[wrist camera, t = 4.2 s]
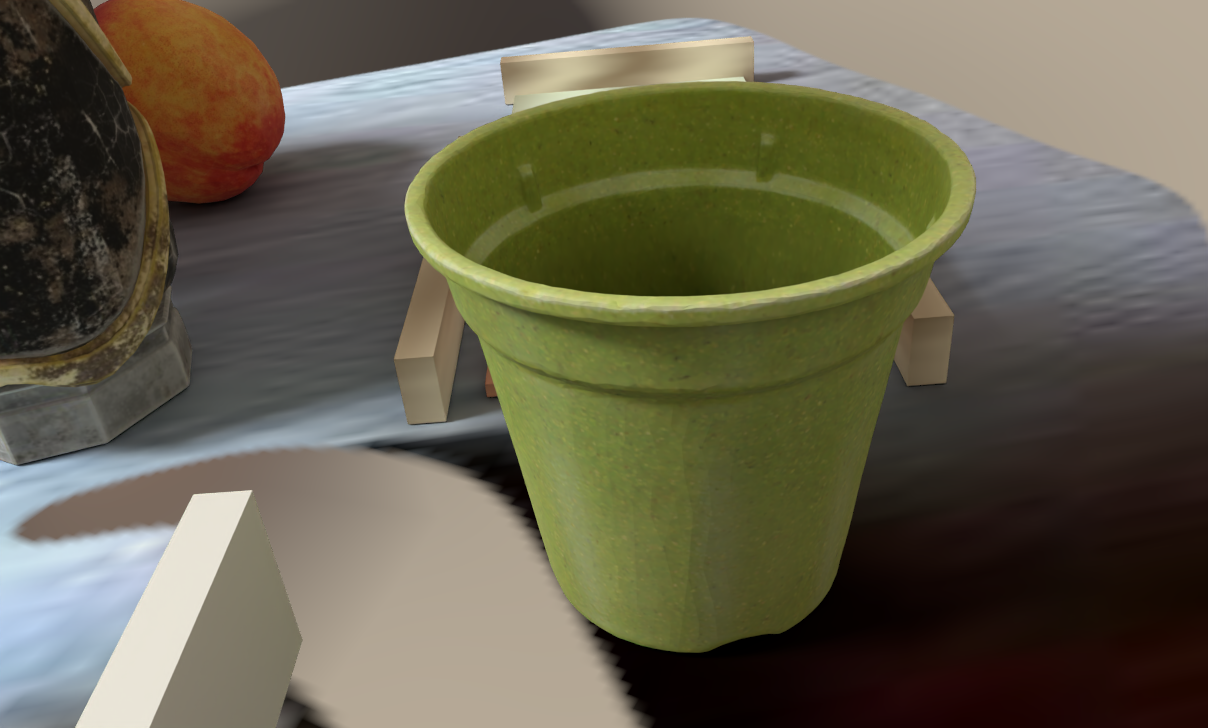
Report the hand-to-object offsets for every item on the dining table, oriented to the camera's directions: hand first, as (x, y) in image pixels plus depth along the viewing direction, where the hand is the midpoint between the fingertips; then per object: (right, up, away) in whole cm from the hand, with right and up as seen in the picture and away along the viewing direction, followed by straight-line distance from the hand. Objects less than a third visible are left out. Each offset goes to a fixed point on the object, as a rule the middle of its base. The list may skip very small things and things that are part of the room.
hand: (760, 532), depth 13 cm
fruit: (-19, +9, +29) cm, 35 cm away
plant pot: (0, -2, +8) cm, 9 cm away
